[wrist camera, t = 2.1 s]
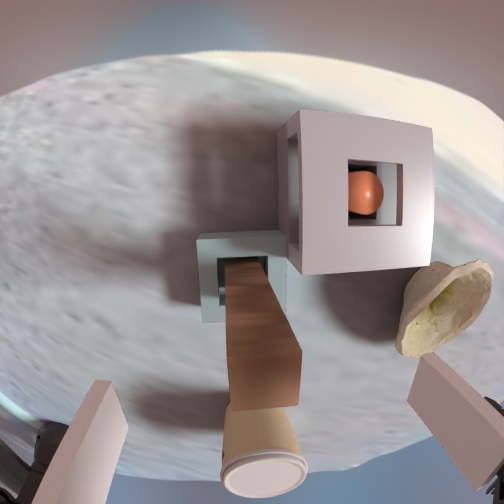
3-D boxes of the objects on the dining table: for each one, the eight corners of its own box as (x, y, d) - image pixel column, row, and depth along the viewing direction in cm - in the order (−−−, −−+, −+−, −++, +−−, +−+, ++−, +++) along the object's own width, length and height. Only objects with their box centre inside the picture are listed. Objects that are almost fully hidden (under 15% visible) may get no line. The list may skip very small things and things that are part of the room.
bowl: (368, 354, 35) (404, 399, 25) (371, 251, 32) (422, 276, 22) (450, 327, 36) (491, 356, 26) (459, 236, 33) (511, 252, 23)
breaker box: (278, 248, 30) (301, 275, 21) (276, 132, 28) (299, 109, 19) (380, 244, 32) (429, 265, 22) (380, 140, 29) (431, 128, 20)
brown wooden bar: (226, 287, 30) (231, 411, 12) (224, 257, 29) (226, 357, 12) (257, 286, 30) (298, 405, 13) (256, 255, 29) (302, 351, 12)
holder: (205, 306, 31) (202, 322, 27) (199, 232, 29) (196, 239, 25) (278, 302, 32) (285, 318, 28) (278, 229, 30) (286, 236, 26)
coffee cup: (204, 408, 34) (201, 479, 23) (260, 373, 34) (276, 445, 22) (248, 441, 36) (257, 505, 25) (301, 410, 36) (324, 475, 24)
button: (325, 209, 28) (346, 214, 23) (325, 172, 27) (345, 169, 22) (358, 209, 28) (383, 214, 23) (358, 173, 27) (383, 172, 22)
